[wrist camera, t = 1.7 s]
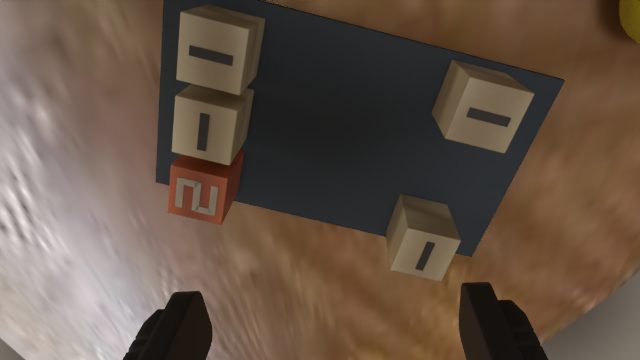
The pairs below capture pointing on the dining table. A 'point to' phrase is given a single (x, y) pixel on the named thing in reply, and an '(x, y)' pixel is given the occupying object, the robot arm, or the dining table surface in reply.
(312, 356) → the dining table surface
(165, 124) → the word mat
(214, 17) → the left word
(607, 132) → the dining table surface
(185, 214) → the red block
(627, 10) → the lemon
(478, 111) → the letter block row
